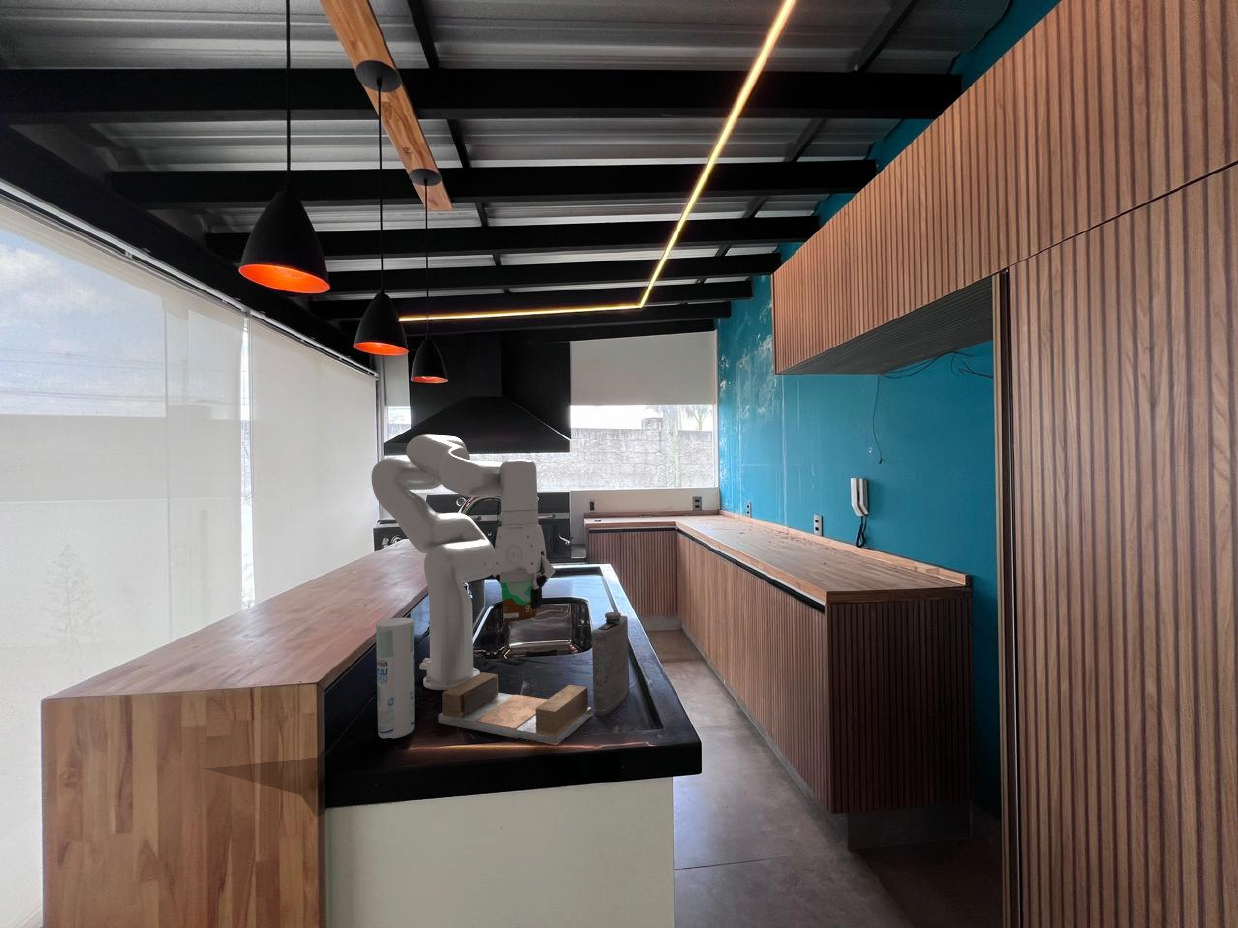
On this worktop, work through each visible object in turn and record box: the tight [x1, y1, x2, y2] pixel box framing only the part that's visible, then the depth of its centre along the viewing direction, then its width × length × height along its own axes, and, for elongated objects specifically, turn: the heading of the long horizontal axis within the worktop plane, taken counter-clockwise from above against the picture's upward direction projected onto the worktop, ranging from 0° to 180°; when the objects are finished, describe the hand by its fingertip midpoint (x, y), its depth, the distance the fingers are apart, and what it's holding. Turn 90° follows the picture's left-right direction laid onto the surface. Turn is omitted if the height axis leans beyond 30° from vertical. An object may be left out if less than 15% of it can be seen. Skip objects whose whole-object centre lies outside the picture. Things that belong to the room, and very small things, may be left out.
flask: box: [591, 611, 631, 717], centre depth 111 cm, size 4×14×18 cm, turn 158°
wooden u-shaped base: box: [438, 671, 592, 743], centre depth 103 cm, size 26×13×6 cm, turn 66°
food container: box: [499, 570, 540, 623], centre depth 111 cm, size 12×6×10 cm, turn 170°
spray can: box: [375, 617, 415, 740], centre depth 100 cm, size 6×6×20 cm
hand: (523, 606), depth 111 cm, fingers closed on food container, 5 cm apart
